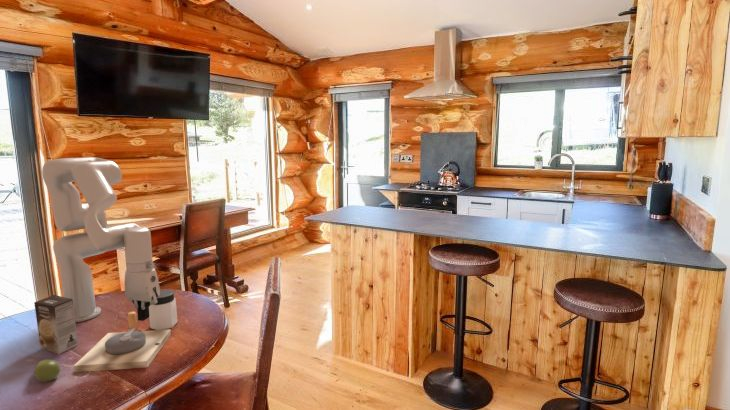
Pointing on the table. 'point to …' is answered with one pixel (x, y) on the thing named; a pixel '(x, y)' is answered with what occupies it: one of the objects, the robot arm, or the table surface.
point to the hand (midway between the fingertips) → (143, 318)
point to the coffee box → (56, 324)
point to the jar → (163, 311)
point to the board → (135, 359)
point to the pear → (47, 370)
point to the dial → (126, 339)
